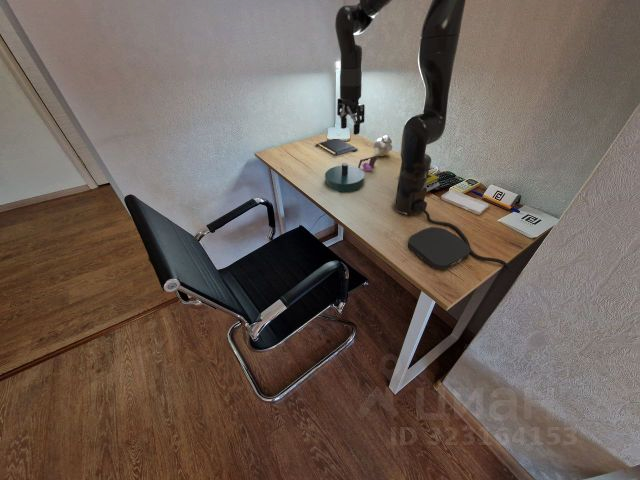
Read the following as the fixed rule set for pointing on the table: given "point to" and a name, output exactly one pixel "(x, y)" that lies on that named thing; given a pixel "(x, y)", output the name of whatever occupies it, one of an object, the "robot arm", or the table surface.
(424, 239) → the media streaming box
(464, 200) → the phone case
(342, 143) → the dark notebook
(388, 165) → the table surface
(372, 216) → the table surface
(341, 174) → the tin lid
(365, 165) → the purple monster toy
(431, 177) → the emergency button
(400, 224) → the table surface
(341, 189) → the tin
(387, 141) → the ghost figurine
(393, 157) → the table surface
